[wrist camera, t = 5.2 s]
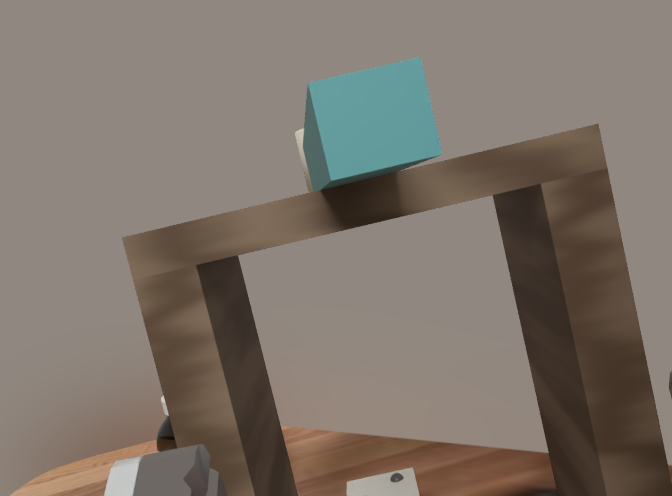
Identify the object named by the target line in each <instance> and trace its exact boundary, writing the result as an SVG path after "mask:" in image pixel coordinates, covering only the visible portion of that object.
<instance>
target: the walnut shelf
mask: <svg viewBox="0 0 672 496" xmlns="http://www.w3.org/2000/svg"><path fill="white" fill-rule="evenodd" d="M491 195H493V199H494V203H495V208H496V212H497V217H498V222H499V226H500V231H501V236H502V240H503V245H504V249H505V254H506V259H507V263H508V268H509V272H510V277H511V281H512V286H513V290H514V295H515V300H516V304H517V309H518V314H519V318H520V322H521V327H522V332H523V337H524V341H525V345H526V350H527V355H528V359H529V363H530V369H531V373H532V378H533V382H534V387H535V391H536V396H537V401H538V405H539V410H540V414H541V419H542V424H543V428H544V433H545V438H546V442H547V446H548V451H549V456H550V460H551V465H552V470H553V474H554V479H555V483H556V488H557V493H558V496H672V484H671V479H670V474H669V469H668V464H667V459H666V454H665V450H664V445H663V439H662V434H661V430H660V425H659V420H658V415H657V410H656V405H655V400H654V395H653V390H652V386H651V381H650V375H649V371H648V366H647V361H646V356H645V351H644V346H643V341H642V336H641V331H640V326H639V322H638V317H637V312H636V307H635V302H634V297H633V292H632V287H631V282H630V277H629V272H628V268H627V263H626V257H625V253H624V248H623V243H622V238H621V233H620V228H619V223H618V218H617V214H616V209H615V203H614V199H613V194H612V189H611V184H610V179H609V174H608V169H607V164H606V159H605V155H604V149H603V145H602V140H601V135H600V130H599V125H598V124H595V125H591V126H587V127H583V128H579V129H575V130H570V131H566V132H562V133H558V134H554V135H550V136H545V137H541V138H537V139H533V140H528V141H524V142H520V143H516V144H512V145H507V146H503V147H499V148H495V149H491V150H487V151H483V152H478V153H474V154H470V155H466V156H461V157H458V158H453V159H449V160H445V161H441V162H436V163H432V164H428V165H424V166H420V167H415V168H411V169H407V170H403V171H399V172H395V173H390V174H386V175H382V176H378V177H374V178H369V179H365V180H361V181H357V182H353V183H349V184H344V185H340V186H336V187H332V188H328V189H323V190H319V191H315V192H311V193H307V194H303V195H298V196H294V197H290V198H286V199H282V200H278V201H273V202H269V203H266V204H261V205H257V206H252V207H248V208H244V209H240V210H236V211H232V212H228V213H223V214H219V215H215V216H211V217H206V218H203V219H198V220H194V221H190V222H185V223H181V224H177V225H173V226H169V227H165V228H160V229H156V230H152V231H148V232H144V233H139V234H135V235H131V236H127V237H123V238H122V239H123V243H124V247H125V251H126V255H127V259H128V262H129V265H130V270H131V274H132V277H133V281H134V285H135V289H136V293H137V296H138V300H139V304H140V308H141V311H142V315H143V319H144V323H145V327H146V331H147V334H148V338H149V342H150V345H151V350H152V353H153V357H154V361H155V364H156V368H157V372H158V376H159V380H160V383H161V388H162V391H163V395H164V399H165V403H166V406H167V410H168V414H169V418H170V422H171V425H172V429H173V433H174V437H175V441H176V444H177V448H183V447H188V446H193V445H199V444H204V446H205V448H206V449H207V451H208V453H209V454H210V468H212V469H214V470H216V471H218V472H219V474H220V476H221V478H222V480H223V482H224V486H225V489H226V492H227V496H298V494H297V490H296V486H295V482H294V478H293V474H292V470H291V466H290V462H289V458H288V454H287V450H286V446H285V442H284V438H283V434H282V430H281V426H280V422H279V418H278V414H277V410H276V406H275V402H274V398H273V394H272V390H271V386H270V382H269V378H268V374H267V370H266V366H265V362H264V358H263V354H262V350H261V346H260V342H259V338H258V334H257V330H256V326H255V322H254V318H253V314H252V310H251V306H250V302H249V298H248V294H247V290H246V286H245V282H244V278H243V274H242V270H241V266H240V262H239V258H238V255H241V254H245V253H249V252H254V251H257V250H262V249H266V248H270V247H274V246H279V245H283V244H287V243H292V242H296V241H300V240H304V239H309V238H313V237H317V236H321V235H326V234H330V233H334V232H338V231H343V230H347V229H351V228H355V227H360V226H363V225H368V224H372V223H376V222H381V221H385V220H389V219H393V218H398V217H401V216H406V215H410V214H414V213H419V212H423V211H427V210H431V209H436V208H440V207H444V206H448V205H453V204H457V203H461V202H465V201H470V200H474V199H478V198H482V197H486V196H491Z"/></svg>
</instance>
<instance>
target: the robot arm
mask: <svg viewBox="0 0 672 496" xmlns="http://www.w3.org/2000/svg"><path fill="white" fill-rule="evenodd" d="M669 389H670V393H671V397H672V371H671V372H670V380H669ZM104 496H227V492H226V489H225V486H224V482H223V480H222V478H221V476H220V474H219V472H218V471H216V470H214V469H212V468H210V454H209V453H208V451H207V449H206V448H205V446H204V444H199V445H193V446H188V447H183V448H178V449H173V450H168V451H162V452H157V453H152V454H147V455H143V456H138V457H133V458H128V459H123V460H119V461H116V462H115V463H114V465H113V466H112V468H111V470H110V472H109V477H108V481H107V485H106V489H105V493H104Z"/></svg>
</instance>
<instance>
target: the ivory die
mask: <svg viewBox="0 0 672 496" xmlns="http://www.w3.org/2000/svg"><path fill="white" fill-rule="evenodd" d="M347 496H420V495H419V491H418V487H417V483H416V478H415V474H414V470H413V467H412V468H407V469H403V470H398V471H393V472H389V473H384V474H380V475H375V476H371V477H366V478H361V479H357V480H352V481H348V482H347Z"/></svg>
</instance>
